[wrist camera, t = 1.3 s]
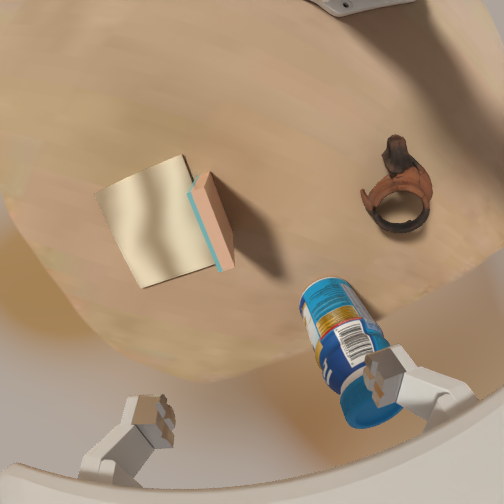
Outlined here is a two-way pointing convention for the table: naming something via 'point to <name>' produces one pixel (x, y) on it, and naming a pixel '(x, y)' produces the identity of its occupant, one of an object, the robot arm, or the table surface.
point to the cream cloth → (156, 223)
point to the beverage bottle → (345, 347)
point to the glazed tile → (212, 220)
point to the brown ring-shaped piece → (400, 185)
